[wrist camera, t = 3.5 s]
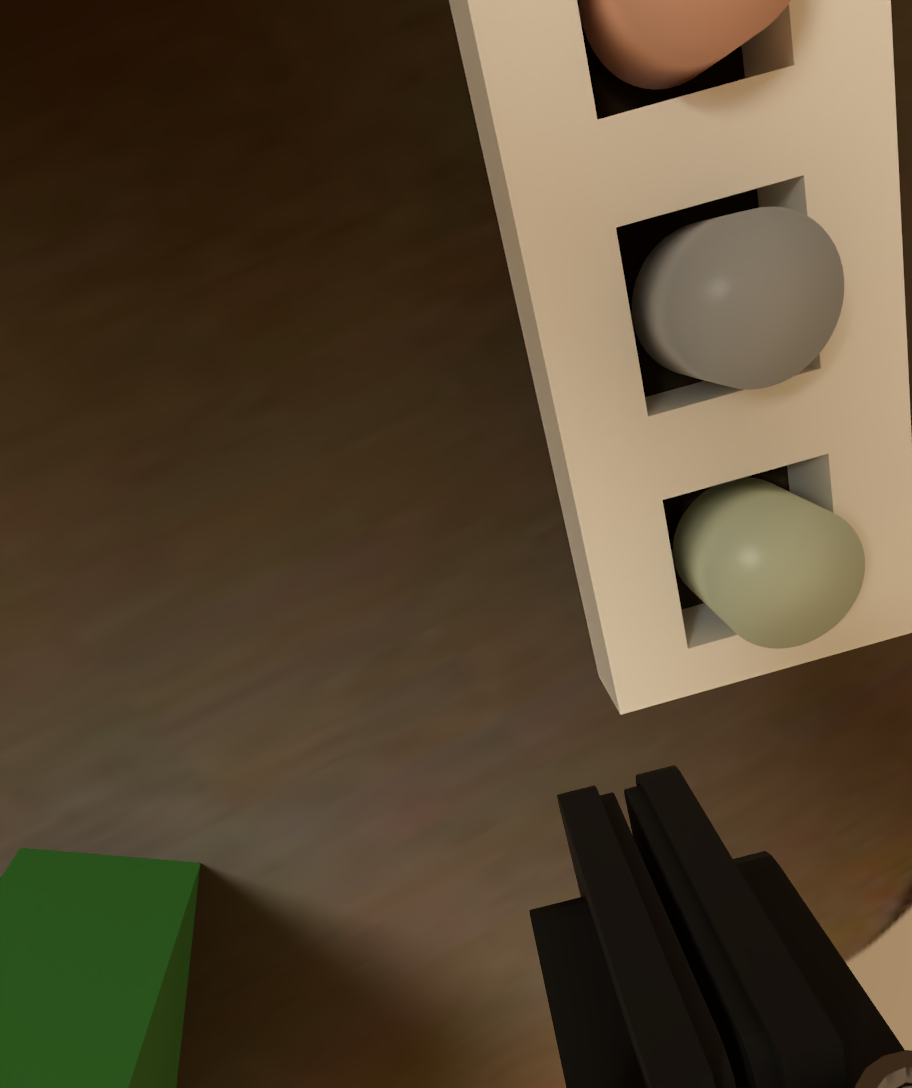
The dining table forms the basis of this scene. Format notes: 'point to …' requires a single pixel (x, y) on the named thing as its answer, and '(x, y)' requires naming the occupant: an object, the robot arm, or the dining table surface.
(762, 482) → the sage button
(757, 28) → the terracotta button
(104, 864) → the hardback book
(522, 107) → the button panel
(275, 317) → the dining table surface
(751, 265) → the grey button
